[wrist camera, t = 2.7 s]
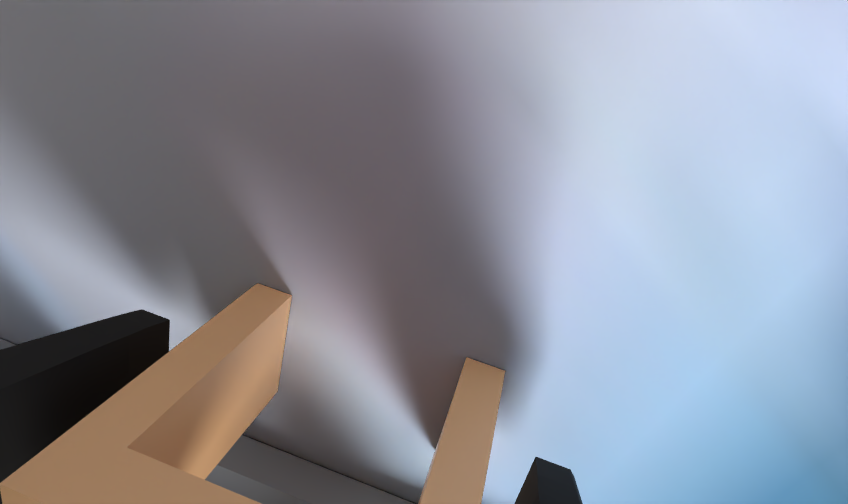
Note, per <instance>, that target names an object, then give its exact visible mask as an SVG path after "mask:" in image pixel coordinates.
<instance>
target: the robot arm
mask: <svg viewBox="0 0 848 504" xmlns="http://www.w3.org/2000/svg"><path fill="white" fill-rule="evenodd" d="M169 325H170V320H169V319H166V318H163V317H161V316H158V315H155V314H153V313H150V312H147V311H145V310H138V311H134V312H129V313H125V314H122V315H118V316H114V317H111V318H107V319H104V320H100V321H97V322H93V323H90V324H86V325H83V326H80V327H76V328H73V329H69V330H66V331H63V332H59V333H56V334H52V335H49V336H46V337H42V338H39V339H35V340H32V341H28V342H25V343H22V344H18V345H15V346H11V347H8V348H4V349H1V350H0V483H1V482H2V481H3V480H5V479H6V478H7V477H9V476H10V475H11V474H12V473H14V472H15V471H16V470H18V469H19V468H20V467H21V466H23V465H24V464H25V463H27V462H28V461H29V460H30V459H32V458H33V457H34V456H36V455H37V454H38V453H39V452H41V451H42V450H43V449H45V448H46V447H47V446H48V445H50V444H51V443H52V442H54V441H55V440H56V439H57V438H59V437H60V436H61V435H63V434H64V433H65V432H66V431H68V430H69V429H70V428H72V427H73V426H74V425H75V424H77V423H78V422H79V421H81V420H82V419H83V418H84V417H86V416H87V415H88V414H90V413H91V412H92V411H93V410H95V409H96V408H97V407H99V406H100V405H101V404H102V403H104V402H105V401H106V400H108V399H109V398H110V397H111V396H113V395H114V394H115V393H117V392H118V391H119V390H120V389H122V388H123V387H124V386H126V385H127V384H128V383H129V382H131V381H132V380H133V379H135V378H136V377H137V376H138V375H140V374H141V373H142V372H144V371H145V370H146V369H147V368H149V367H150V366H151V365H153V364H154V363H155V362H156V361H158V360H159V359H160V358H162V357H163V356H164V355H165V354H167V353H168V352H169ZM0 504H2V498H1V492H0ZM515 504H582V500H581V497H580V494H579V491H578V488H577V485H576V481H575V478H574V476H573V474H572V472H571V470H570V469H567V468H565V467H562V466H559V465H557V464H554V463H551V462H549V461H546V460H543V459H541V458H538V457H535V460H534V462H533V464H532V466H531V468H530V471H529V473H528V475H527V477H526V480H525V482H524V484H523V486H522V488H521V491H520V493H519V495H518V497H517V499H516V502H515Z"/></svg>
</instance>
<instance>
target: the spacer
mask: <svg viewBox="0 0 848 504" xmlns="http://www.w3.org/2000/svg"><path fill="white" fill-rule="evenodd" d="M291 298H292V295H290V294H287V293H284V292H281V291H278V290H275V289H273V288H270V287H267V286H264V285H261V284H258V283H257V284H255V285H254V286H253V287H252V288H250V289H249V290H248V291H246V292H245V293H244V294H243V295H241V296H240V297H239V298H237V299H236V300H235V301H234V302H232V303H231V304H230V305H228V306H227V307H226V308H225V309H223V310H222V311H221V312H219V313H218V314H217V315H216V316H214V317H213V318H212V319H210V320H209V321H208V322H207V323H205V324H204V325H203V326H201V327H200V328H199V329H198V330H196V331H195V332H194V333H192V334H191V335H190V336H189V337H187V338H186V339H185V340H183V341H182V342H181V343H180V344H178V345H177V346H176V347H174V348H173V349H172V350H171V351H169V352H168V353H167V354H165V355H164V356H163V357H162V358H160V359H159V360H158V361H156V362H155V363H154V364H153V365H151V366H150V367H149V368H147V369H146V370H145V371H144V372H142V373H141V374H140V375H138V376H137V377H136V378H135V379H133V380H132V381H131V382H129V383H128V384H127V385H126V386H124V387H123V388H122V389H120V390H119V391H118V392H117V393H115V394H114V395H113V396H111V397H110V398H109V399H108V400H106V401H105V402H104V403H102V404H101V405H100V406H99V407H97V408H96V409H95V410H93V411H92V412H91V413H90V414H88V415H87V416H86V417H84V418H83V419H82V420H81V421H79V422H78V423H77V424H75V425H74V426H73V427H72V428H70V429H69V430H68V431H66V432H65V433H64V434H63V435H61V436H60V437H59V438H57V439H56V440H55V441H54V442H52V443H51V444H50V445H48V446H47V447H46V448H45V449H43V450H42V451H41V452H39V453H38V454H37V455H36V456H34V457H33V458H32V459H30V460H29V461H28V462H27V463H25V464H24V465H23V466H21V467H20V468H19V469H18V470H16V471H15V472H14V473H12V474H11V475H10V476H9V477H7V478H6V479H5V480H3V481H2V482H1V483H0V492H1V498H2V504H261V503H259V502H257V501H254V500H252V499H249V498H247V497H245V496H242V495H240V494H237V493H235V492H233V491H230V490H228V489H225V488H223V487H221V486H218V485H216V484H213V483H211V482H209V481H206V480H205V479H206V478H207V476H208V475H209V474H210V473H211V472H212V470H213V469H214V468H215V467H216V465H217V464H218V463H219V462H220V461H221V459H222V458H223V457H224V456H225V455H226V453H227V452H228V451H229V450H230V449H231V447H232V446H233V445H234V444H235V442H236V441H237V440H238V439H239V438H240V436H241V435H242V434H243V433H244V432H245V430H246V429H247V428H248V427H249V426H250V424H251V423H252V422H253V421H254V419H255V418H256V417H257V416H258V415H259V413H260V412H261V411H262V410H263V409H264V407H265V406H266V405H267V404H268V403H269V401H270V400H271V399H272V398H273V396H274V395H275V394H276V393H277V392H278V386H279V379H280V372H281V366H282V359H283V352H284V345H285V339H286V332H287V325H288V318H289V312H290V305H291ZM504 375H505V371H504V370H501V369H498V368H496V367H493V366H490V365H487V364H484V363H482V362H479V361H476V360H473V359H470V358H467V357H466V360H465V363H464V366H463V369H462V372H461V375H460V378H459V381H458V384H457V387H456V390H455V393H454V396H453V399H452V402H451V405H450V408H449V411H448V414H447V417H446V420H445V423H444V426H443V429H442V431H441V434H440V437H439V440H438V443H437V446H436V449H435V452H434V456H433V459H432V462H431V465H430V468H429V471H428V474H427V478H426V481H425V484H424V487H423V490H422V493H421V496H420V499H419V503H418V504H481V501H482V496H483V491H484V485H485V480H486V474H487V469H488V463H489V458H490V452H491V447H492V441H493V436H494V430H495V425H496V419H497V414H498V408H499V403H500V397H501V392H502V386H503V381H504Z"/></svg>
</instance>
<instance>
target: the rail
mask: <svg viewBox="0 0 848 504" xmlns="http://www.w3.org/2000/svg"><path fill="white" fill-rule="evenodd" d="M11 346H15V344H13V343H10V342H8V341H5V340H3V339H0V350H1V349H4V348H8V347H11ZM205 480H206V481H209V482H211V483H213V484H216V485H218V486H221V487H223V488H225V489H228V490H230V491H233V492H235V493H237V494H240V495H242V496H245V497H247V498H249V499H252V500H254V501H257V502H259V503H261V504H414V503H411V502H409V501H406V500H404V499H401V498H399V497H396V496H394V495H391V494H389V493H386V492H384V491H381V490H379V489H376V488H374V487H371V486H369V485H366V484H364V483H361V482H359V481H356V480H354V479H351V478H349V477H346V476H344V475H341V474H339V473H336V472H334V471H331V470H329V469H326V468H324V467H321V466H319V465H316V464H314V463H311V462H309V461H306V460H303V459H301V458H298V457H296V456H293V455H291V454H288V453H286V452H283V451H281V450H278V449H276V448H273V447H271V446H268V445H266V444H263V443H261V442H258V441H256V440H253V439H251V438H248V437H246V436H243V435H241V436H240V438H239V439H238V440H237V441H236V442H235V444H234V445H233V446H232V447H231V449H230V450H229V451H228V452H227V453H226V455H225V456H224V457H223V458H222V459H221V461H220V462H219V463H218V464H217V465H216V467H215V468H214V469H213V470H212V472H211V473H210V474H209V475H208V476H207V478H206V479H205Z"/></svg>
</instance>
